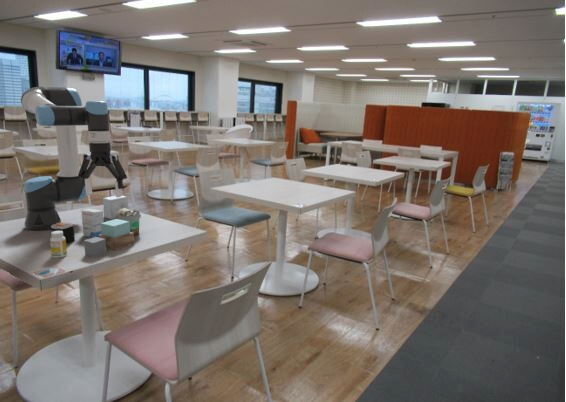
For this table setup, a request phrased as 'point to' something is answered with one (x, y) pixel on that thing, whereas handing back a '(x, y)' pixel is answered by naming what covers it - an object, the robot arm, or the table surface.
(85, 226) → the ink box
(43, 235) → the table surface
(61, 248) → the supplement bottle
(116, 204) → the skincare box
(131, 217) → the food container
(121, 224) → the tower top
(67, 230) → the sushi
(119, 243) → the tower base
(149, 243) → the table surface
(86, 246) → the cube
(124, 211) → the skull
